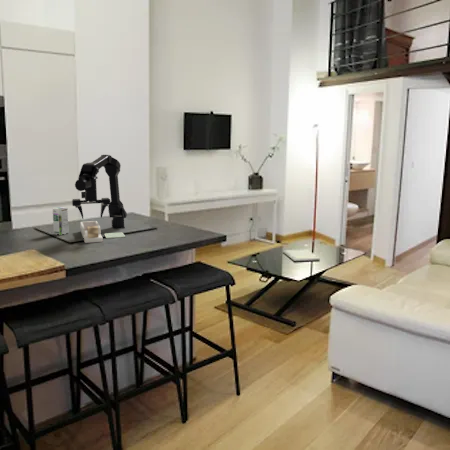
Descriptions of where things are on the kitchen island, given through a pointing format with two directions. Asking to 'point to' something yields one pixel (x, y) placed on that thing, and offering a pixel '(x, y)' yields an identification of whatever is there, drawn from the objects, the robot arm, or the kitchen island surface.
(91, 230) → the maple block
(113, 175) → the robot arm
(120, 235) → the sage pad
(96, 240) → the trap channel
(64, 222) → the syrup box
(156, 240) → the kitchen island surface
